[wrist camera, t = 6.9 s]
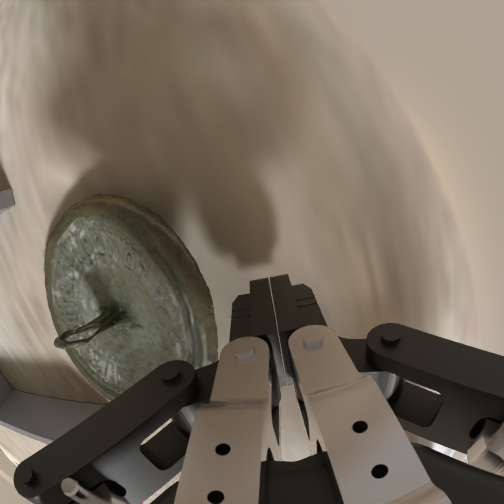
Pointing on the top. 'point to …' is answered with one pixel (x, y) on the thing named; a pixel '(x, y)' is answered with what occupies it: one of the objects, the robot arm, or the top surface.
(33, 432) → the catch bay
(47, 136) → the top surface
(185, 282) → the lid
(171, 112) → the top surface
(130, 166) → the top surface
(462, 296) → the top surface
